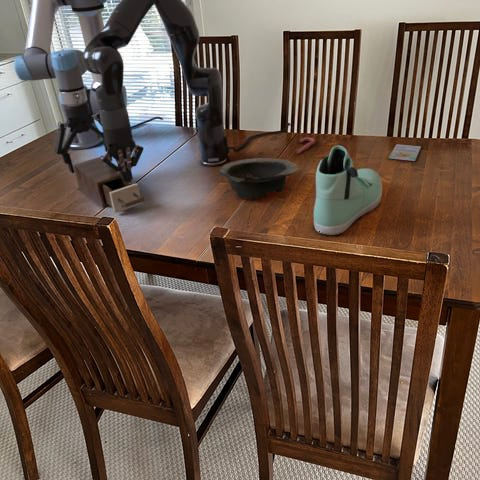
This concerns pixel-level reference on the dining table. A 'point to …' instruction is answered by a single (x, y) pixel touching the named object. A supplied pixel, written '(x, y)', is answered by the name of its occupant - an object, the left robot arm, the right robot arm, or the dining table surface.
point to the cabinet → (94, 178)
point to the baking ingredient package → (405, 152)
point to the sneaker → (343, 192)
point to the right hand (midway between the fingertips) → (127, 181)
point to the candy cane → (306, 144)
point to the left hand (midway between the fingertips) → (91, 165)
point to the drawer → (121, 194)
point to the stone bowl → (257, 176)
